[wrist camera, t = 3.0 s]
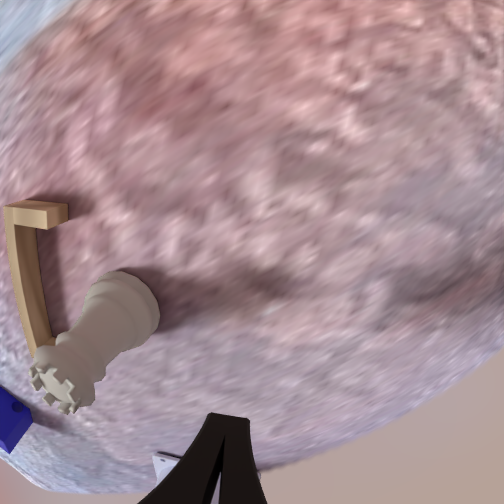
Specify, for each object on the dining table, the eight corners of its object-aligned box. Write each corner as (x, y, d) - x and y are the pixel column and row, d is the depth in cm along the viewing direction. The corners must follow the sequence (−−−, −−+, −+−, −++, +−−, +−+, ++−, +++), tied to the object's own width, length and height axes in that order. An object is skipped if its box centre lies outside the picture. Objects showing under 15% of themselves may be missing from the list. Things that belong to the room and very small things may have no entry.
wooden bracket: (67, 203, 15) (46, 210, 13) (85, 358, 19) (72, 374, 17) (24, 199, 15) (3, 206, 13) (45, 343, 19) (31, 357, 17)
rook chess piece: (84, 293, 17) (2, 366, 9) (125, 252, 16) (30, 326, 8) (131, 346, 18) (71, 437, 10) (178, 314, 17) (119, 418, 9)
